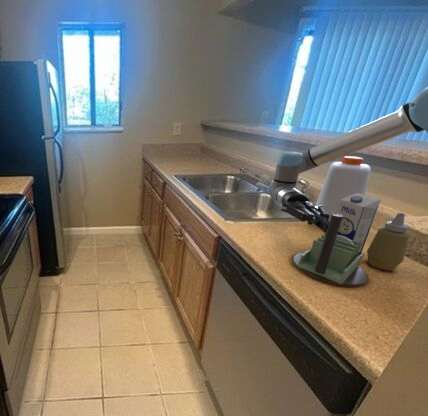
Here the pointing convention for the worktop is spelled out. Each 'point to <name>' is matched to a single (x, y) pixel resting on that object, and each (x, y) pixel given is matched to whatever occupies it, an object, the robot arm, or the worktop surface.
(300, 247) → the worktop surface
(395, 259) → the squeeze bottle
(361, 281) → the turntable
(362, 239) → the milk carton
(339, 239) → the dish rack
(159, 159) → the worktop surface
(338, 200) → the plastic bottle
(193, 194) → the worktop surface
